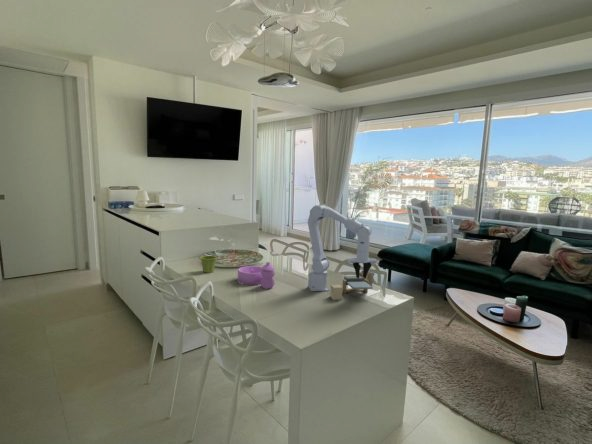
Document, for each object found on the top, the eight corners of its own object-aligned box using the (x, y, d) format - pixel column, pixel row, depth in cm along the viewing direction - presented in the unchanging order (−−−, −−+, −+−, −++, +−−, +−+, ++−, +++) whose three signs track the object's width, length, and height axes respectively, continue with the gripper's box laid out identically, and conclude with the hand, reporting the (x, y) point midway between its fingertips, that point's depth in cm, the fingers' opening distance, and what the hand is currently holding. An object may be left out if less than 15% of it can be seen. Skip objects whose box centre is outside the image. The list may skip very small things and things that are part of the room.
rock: (361, 287, 172) (365, 269, 174) (353, 285, 177) (356, 267, 179) (376, 291, 178) (380, 273, 180) (367, 289, 184) (371, 272, 186)
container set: (232, 280, 179) (232, 256, 178) (254, 275, 190) (254, 253, 188) (260, 292, 162) (261, 266, 160) (282, 286, 172) (283, 262, 171)
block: (333, 299, 155) (333, 287, 155) (330, 296, 160) (330, 284, 159) (341, 299, 156) (342, 287, 155) (338, 296, 161) (339, 284, 160)
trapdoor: (353, 292, 156) (353, 284, 156) (342, 282, 170) (343, 276, 170) (372, 291, 158) (372, 284, 158) (360, 282, 172) (361, 275, 172)
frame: (343, 293, 165) (344, 280, 164) (340, 290, 170) (341, 277, 169) (367, 292, 167) (368, 280, 167) (363, 289, 172) (364, 277, 172)
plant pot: (199, 270, 195) (199, 256, 194) (214, 269, 199) (215, 255, 198) (201, 274, 187) (201, 259, 185) (217, 273, 191) (218, 258, 189)
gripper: (351, 252, 153) (350, 280, 154) (380, 252, 156) (378, 279, 157) (346, 249, 160) (345, 275, 161) (374, 249, 162) (372, 275, 164)
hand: (361, 277), depth 160 cm, fingers open, 3 cm apart
